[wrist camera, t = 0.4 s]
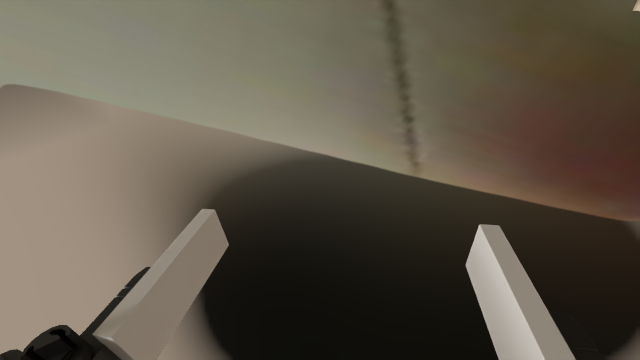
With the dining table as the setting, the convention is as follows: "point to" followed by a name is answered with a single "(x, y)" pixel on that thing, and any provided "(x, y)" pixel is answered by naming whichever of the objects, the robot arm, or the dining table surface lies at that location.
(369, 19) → the dining table surface
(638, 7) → the wooden u-shaped frame
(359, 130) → the dining table surface
